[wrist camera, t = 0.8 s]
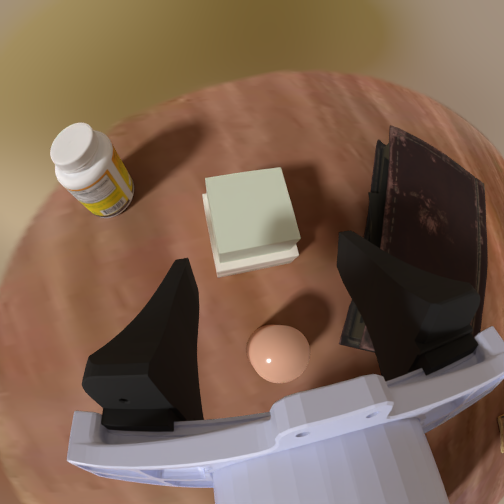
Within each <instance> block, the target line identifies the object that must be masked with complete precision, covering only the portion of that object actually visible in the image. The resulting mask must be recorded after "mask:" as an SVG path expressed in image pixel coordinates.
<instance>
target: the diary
mask: <svg viewBox="0 0 504 504" xmlns="http://www.w3.org/2000/svg"><path fill="white" fill-rule="evenodd" d="M368 193H369V209H368V217H367V224H366V229H365V234H364V239H366V240H367V241H369V242H370V243H372V244H374V245H375V246H377V247H378V248H380V249H382V250H383V251H385V252H387V253H389V254H390V255H392V256H394V257H396V258H398V259H399V260H401V261H403V262H405V263H408V264H410V265H412V266H414V267H416V268H419V269H421V270H424V271H427V272H429V273H432V274H435V275H438V276H441V277H445V278H449V279H452V280H457V281H462V282H467V283H470V284H471V285H472V286H473V288H474V289H475V290H476V291H477V292H478V294H479V295H480V304H479V307H478V309H477V311H476V313H475V315H474V317H473V319H472V320H471V322H470V325H471V326H472V328H473V331H472V332H471V334H472V335H473V337H475V336H476V335H477V334H478V333H480V329H481V321H482V312H483V305H484V297H485V288H486V278H487V230H486V204H485V188H484V183H482V182H481V181H480V180H478V179H477V178H475V177H474V176H473V175H472V174H470V173H469V172H468V171H466V170H465V169H464V168H462V167H461V166H460V165H459V164H457V163H456V162H455V161H453V160H452V159H451V158H449V157H448V156H447V155H445V154H444V153H442V152H440V151H439V150H437V149H436V148H434V147H433V146H431V145H429V144H428V143H426V142H424V141H423V140H421V139H419V138H417V137H415V136H413V135H411V134H409V133H407V132H405V131H403V130H401V129H399V128H397V127H394V126H390V132H389V143H388V144H387V145H384V144H383V143H382V142H381V141H380V140H378V141H377V145H376V152H375V160H374V168H373V175H372V183H371V192H368ZM339 344H340V345H344V346H348V347H353V348H357V349H361V350H366V351H370V352H375V350H374V347H373V344H372V341H371V338H370V335H369V333H368V330H367V328H366V325H365V323H364V320H363V318H362V316H361V314H360V312H359V311H358V309H357V307H356V305H355V303H354V301H353V300H352V301H351V304H350V306H349V310H348V314H347V317H346V321H345V324H344V328H343V331H342V335H341V338H340V342H339Z"/></svg>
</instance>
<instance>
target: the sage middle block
mask: <svg viewBox="0 0 504 504" xmlns="http://www.w3.org/2000/svg"><path fill="white" fill-rule="evenodd" d="M205 181H206V191H207V200H208V205H209V211H210V216H211V221H212V227H213V232H214V237H215V242H216V248H217V253H218V258H219V263H225V262H230V261H235V260H241V259H246V258H251V257H256V256H261V255H266V254H271V253H276V252H281V251H287V250H290V249H291V248H292V247H293V246H294V245H295V244H296V243H297V242H298V241H299V240H300V239H301V237H300V233H299V230H298V226H297V222H296V219H295V215H294V211H293V208H292V204H291V201H290V197H289V194H288V190H287V187H286V183H285V180H284V177H283V173H282V170H281V167H279V168H271V169H263V170H255V171H248V172H241V173H234V174H228V175H222V176H215V177H209V178H205Z"/></svg>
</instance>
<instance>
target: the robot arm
mask: <svg viewBox="0 0 504 504" xmlns="http://www.w3.org/2000/svg"><path fill="white" fill-rule="evenodd" d="M337 268H338V271H339V273H340V276H341V278H342V281H343V283H344V285H345V287H346V289H347V291H348V292H349V294H350V296H351V298H352V300H353V301H354V303H355V305H356V307H357V309H358V311H359V312H360V314H361V316H362V318H363V320H364V323H365V325H366V328H367V330H368V333H369V335H370V338H371V341H372V344H373V347H374V350H375V353H376V356H377V360H378V363H379V367H380V371H381V375H382V376H380V375H377V374H369V375H364V376H360V377H356V378H353V379H350V380H346V381H342V382H339V383H335V384H331V385H327V386H323V387H319V388H315V389H311V390H306V391H302V392H298V393H295V394H291V395H288V396H285V397H283V398H282V399H280V400H278V401H277V402H275V403H274V404H273V406H272V408H271V410H270V412H265V413H259V414H253V415H246V416H238V417H230V418H221V419H210V420H204V419H203V412H202V405H201V397H200V389H199V378H198V365H197V338H198V323H199V292H198V288H197V284H196V281H195V278H194V275H193V272H192V269H191V265H190V262H189V259H188V258H184V259H178V260H175V262H174V263H173V265H172V266H171V268H170V270H169V271H168V273H167V275H166V276H165V278H164V280H163V281H162V283H161V284H160V286H159V287H158V289H157V290H156V292H155V293H154V295H153V296H152V298H151V299H150V300H149V302H148V303H147V304H146V306H145V307H144V308H143V309H142V311H141V312H140V313H139V314H138V315H137V316H136V317H135V319H134V320H133V321H132V322H131V323H130V324H129V325H128V326H127V327H126V328H125V329H124V330H123V331H121V332H120V333H119V334H118V335H117V336H116V337H115V338H113V339H112V340H111V341H110V342H109V343H107V344H106V345H105V346H103V347H102V348H100V349H99V350H97V351H96V352H95V353H93V354H92V355H90V356H89V357H88V361H87V364H86V368H85V372H84V376H83V380H82V386H83V389H84V390H85V392H86V393H87V394H88V395H89V396H90V397H91V398H92V399H93V400H95V401H96V402H97V403H98V404H99V405H100V406H101V407H103V414H102V415H101V414H99V413H96V412H86V411H74V416H73V422H72V428H71V434H70V440H69V447H68V455H67V461H68V462H69V463H71V464H73V465H76V466H78V467H80V468H82V469H84V470H86V471H88V472H91V473H93V474H95V475H98V476H100V477H105V478H111V479H117V480H124V481H131V482H138V483H146V484H154V485H164V486H177V487H198V488H214V496H215V504H449V501H448V497H447V494H446V491H445V488H444V485H443V482H442V479H441V476H440V474H439V471H438V468H437V465H436V462H435V460H434V457H433V454H432V452H431V449H430V446H429V444H428V441H427V439H426V436H425V433H426V432H428V431H430V430H432V429H434V428H435V427H437V426H439V425H441V424H442V423H444V422H446V421H447V420H449V419H451V418H452V417H454V416H455V415H457V414H459V413H460V412H462V411H463V410H465V409H466V408H468V407H469V406H471V405H472V404H474V403H475V402H477V401H478V400H480V399H481V398H483V397H484V396H486V395H487V394H489V393H490V392H491V391H492V390H493V389H494V388H495V387H496V386H497V385H498V384H499V383H500V382H501V381H502V380H503V379H504V341H503V340H502V338H501V337H500V335H499V334H498V333H497V331H496V330H495V328H494V327H493V326H491V327H489V328H487V329H485V330H483V331H482V332H480V333H478V334H477V335H476V336H475V337H473V335H472V334H471V332H472V331H473V328H472V326H471V325H470V322H471V320H472V319H473V317H474V315H475V313H476V311H477V309H478V307H479V304H480V295H479V294H478V292H477V291H476V290H475V289H474V288H473V286H472V285H471V284H470V283H467V282H462V281H457V280H452V279H449V278H445V277H441V276H438V275H435V274H432V273H429V272H427V271H424V270H421V269H419V268H416V267H414V266H412V265H410V264H408V263H405V262H403V261H401V260H399V259H398V258H396V257H394V256H392V255H390V254H389V253H387V252H385V251H383V250H382V249H380V248H378V247H377V246H375V245H374V244H372V243H370V242H369V241H367V240H366V239H364V238H363V237H361V236H359V235H358V234H356V233H354V232H352V231H344V232H339V241H338V256H337Z"/></svg>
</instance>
